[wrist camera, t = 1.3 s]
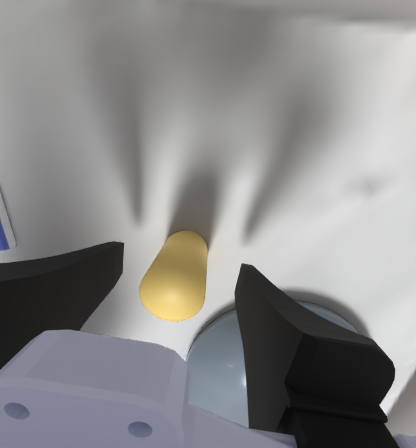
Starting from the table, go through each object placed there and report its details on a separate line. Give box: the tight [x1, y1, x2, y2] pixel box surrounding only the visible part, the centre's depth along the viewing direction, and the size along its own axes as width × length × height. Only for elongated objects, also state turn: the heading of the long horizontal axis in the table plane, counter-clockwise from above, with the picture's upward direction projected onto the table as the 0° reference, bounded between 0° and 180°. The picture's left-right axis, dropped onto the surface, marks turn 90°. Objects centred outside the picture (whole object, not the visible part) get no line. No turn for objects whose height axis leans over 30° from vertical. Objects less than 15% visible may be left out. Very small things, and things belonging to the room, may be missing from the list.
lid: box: [186, 301, 359, 428], centre depth 17 cm, size 16×16×1 cm
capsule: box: [139, 230, 208, 321], centre depth 12 cm, size 3×3×5 cm
